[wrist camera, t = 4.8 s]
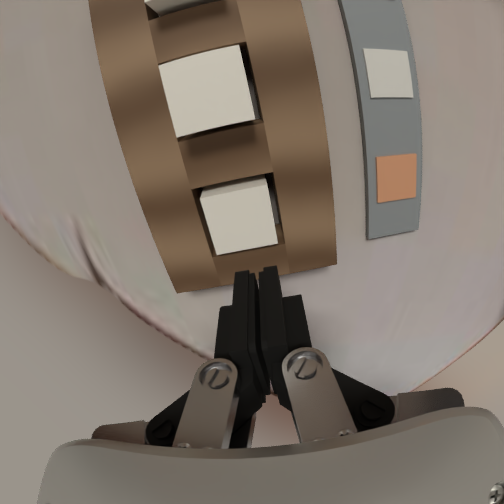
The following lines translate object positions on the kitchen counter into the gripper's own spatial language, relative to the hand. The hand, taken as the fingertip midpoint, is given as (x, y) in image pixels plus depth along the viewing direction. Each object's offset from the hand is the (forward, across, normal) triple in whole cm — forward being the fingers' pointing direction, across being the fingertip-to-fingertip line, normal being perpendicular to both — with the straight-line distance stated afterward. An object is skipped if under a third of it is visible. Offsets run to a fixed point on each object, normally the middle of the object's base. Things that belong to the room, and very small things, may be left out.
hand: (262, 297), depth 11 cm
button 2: (+10, +1, 0) cm, 10 cm away
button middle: (+9, +1, -8) cm, 12 cm away
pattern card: (+11, -11, -8) cm, 17 cm away
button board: (+10, +1, -8) cm, 13 cm away
